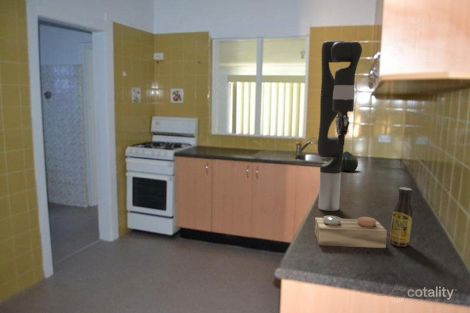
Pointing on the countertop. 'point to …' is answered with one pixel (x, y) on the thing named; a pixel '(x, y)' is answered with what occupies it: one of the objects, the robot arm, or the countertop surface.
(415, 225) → the countertop surface
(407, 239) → the sauce bottle
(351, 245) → the beech block
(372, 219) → the terracotta peg
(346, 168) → the squash
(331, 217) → the grey peg
